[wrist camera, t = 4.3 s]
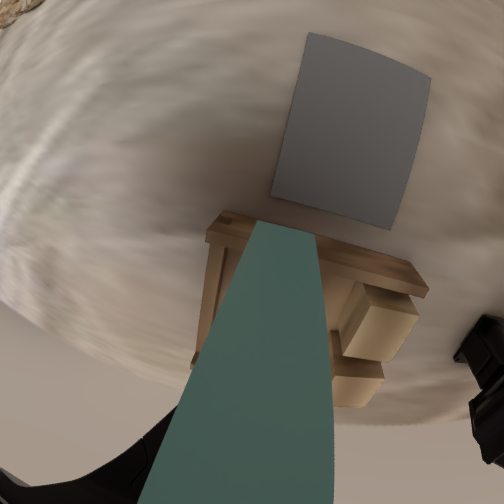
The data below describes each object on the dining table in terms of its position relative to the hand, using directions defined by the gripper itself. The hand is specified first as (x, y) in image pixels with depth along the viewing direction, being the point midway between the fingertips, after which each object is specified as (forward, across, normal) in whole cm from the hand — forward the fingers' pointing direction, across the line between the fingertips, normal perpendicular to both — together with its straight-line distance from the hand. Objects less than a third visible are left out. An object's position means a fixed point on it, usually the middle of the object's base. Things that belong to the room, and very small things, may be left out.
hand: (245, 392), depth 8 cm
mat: (+13, -4, -10) cm, 16 cm away
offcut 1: (+12, -8, +2) cm, 15 cm away
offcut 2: (+12, -8, +8) cm, 16 cm away
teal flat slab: (+3, 0, 0) cm, 3 cm away
